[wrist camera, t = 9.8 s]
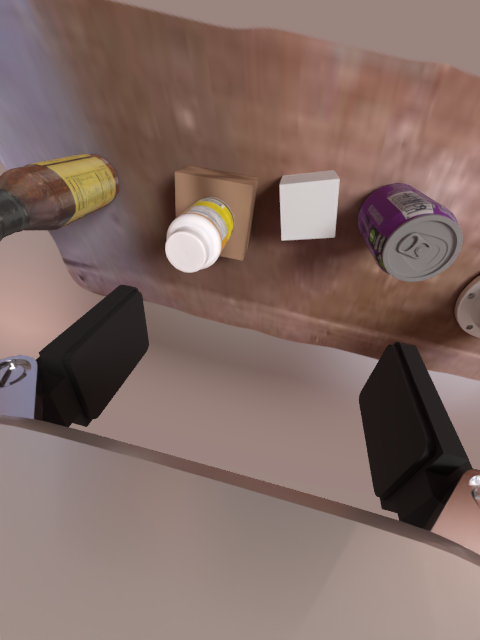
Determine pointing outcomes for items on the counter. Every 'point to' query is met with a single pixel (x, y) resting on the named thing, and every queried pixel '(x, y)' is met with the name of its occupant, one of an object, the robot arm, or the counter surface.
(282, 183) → the white cube
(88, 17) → the counter surface
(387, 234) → the beverage can
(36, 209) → the sauce bottle
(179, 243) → the supplement bottle
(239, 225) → the brown square block
